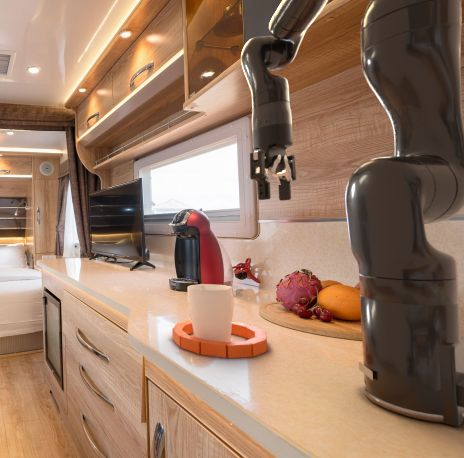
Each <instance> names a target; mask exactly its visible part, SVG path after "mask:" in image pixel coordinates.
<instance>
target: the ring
mask: <svg viewBox="0 0 464 458" xmlns="http://www.w3.org/2000/svg"><path fill="white" fill-rule="evenodd" d="M171 332H172V341H173V342H174V343H175V344H176V345H177V346H178V347H179V348H181V349H184V350H185V351H188V352H191V353H195V354H197V355H201V356H209V357H217V358H223V359H227V358H228V359H240V358H252V357H253V358H254V357H257V356H259V355H261V354H264V353H267V351H268V341H267V339H268V338H267V332H266V331H264V330H262V329H260V328H258V327H256V326H254V325H251V324H248V323H247V324H246V323H243V322H238V321H235V320H234V321H233V320H232V328H231V335H235V336H239V337H242V338H246V340H240V341H238V340H237V341H230V342H220V341H211V340H203V339H200V338H196V337H194V335H190V334H194V332H193V327H192V322H191V319H189V320H184V321H181V322H178V323H175V325H174V326H173V328H172V330H171Z"/></svg>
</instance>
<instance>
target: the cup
mask: <svg viewBox="0 0 464 458" xmlns="http://www.w3.org/2000/svg"><path fill="white" fill-rule="evenodd" d="M186 291H187V294H186V296H187V298H186V300H187V307H188V312H189V317H190V320H191V322H192V327H193V332H194V333H193V337H196V338H200V339H203V340H211V341H220V342H231V338H232V334H231V328H232V321H233V317H234V305H235V301H234V295H233V293H234V292H233V287H232V286H230V285H225V284H215V283H200V284H199V283H198V284H191V285H188V286H187V289H186Z"/></svg>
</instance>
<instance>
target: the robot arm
mask: <svg viewBox="0 0 464 458" xmlns="http://www.w3.org/2000/svg"><path fill="white" fill-rule="evenodd" d="M328 2H329V0H281V2H280V4H279V5H278V7H277V8H276V11H275V12H274V13H273V15H272V17H271V19H269V20H270V21H269V23H268V29H269V33H270V35H261V36H254V37H252V38H250V39H249V40H248V41H247V42H246V43H245V44H244V46H243V48H242V50H241V54H240V64H241V68H242V71H243V74H244V76H245V78H246V81H247V84H248V87H249V90H250V93H251V107H252V113H251V114H252V115H251V133H252V150H253V151H250V153H249V178H250V180H254V182H255V183H256V184H257V195H258V196H257V197H258V198H257V199H258V200H259V201H266V200H267V201H268V200H270V199H271V198H272V197H271V195H272V194H271V182H270V180H271V177H272V176H273V178H275V179H276V181H277V183H278V200H279V201H281V202H282V201H283V202H284V201H291V199H292V189H291V187H292V186H291V184H292V183H293V182H294V181H295V182H296V180H297V171H296V159H295V154H287V148H291V146H293V144H294V136H293V135H294V134H293V116H292V115H293V113H292V109H291V105H290V104H291V103H290V87H289V86H290V85H289V81H288V79H287V78H286V77H284V76H281V75H277V74H273V73H271V71H280V70H283V69H285V68H287V67H288V66H289V65H291V63H292V62H293V61H294V60H295V59H296V56H297V54H298V51H299V48H300V46H301V44H302V41H303V39H304V36H305V34H306V32H307V30H308V29H309V28H310V26H311V25H312V24H313V23H314V21H315V20H316V18H318V16H319V15H320V14H321V12H322V11H323V9H325V7H326V5H327V4H328ZM461 41H462V0H370V1H369V3H368V4H367V6H366V9H365V10H364V12H363V15H362V18H361V23H360V63H361V70H362V73H363V75H364V78H365V80H366V83H367V84H368V86H369V88H370V89H371V91H372V92H373V94H374V95H375V97H376V98H377V100H378V101H379V103H380V105H381V106H382V108H383V110H384V111H385V113H386V114H387V116H388V118H389V121H390V124H391V127H392V133H393V137H394V138H393V141H394V155H393V156H379V157H376V158H371V159H369V160H366V161H364V162H363V163H361V164H360V165H359V166H356V168H355V169H354V170H353V171H352V173H351V174H350V176H349V178H348V179H347V182H346V183H347V184H346V188H345V195H344V197H345V199H344V200H345V213H346V221H347V229H348V238H349V246H350V250H351V253H352V255H353V257H354V259H355V260H356V263H357V265H358V281H359V285H358V286H359V302H360V318H361V319H360V322H361V324H360V325H361V338H362V339H361V341H362V360H363V363H362V362H360V361H358V370H359V371H360V372H362V373H363V383H364V384H363V394H364V395H365V397H366V398H367V399H368V400H370V401H371V402H373V403H374V404H376V405H378V406H380V407H382V408H384V409H386V410H388V411H391V412H393V413H397V414H400V415H403V416H406V417H408V418H409V417H410V418H414V419H418V420H423V421H428V422H435V423H441V424H445V425H450V426H453V427H457V428H458V427H460V426H461V425H462V423H463V422H464V336H463V335H462V334H461V332H462V331H461V330H462V329H461V314H460V295H459V279H458V277H459V274H458V262H457V259H456V258H455V257H454V256H453V255H452V254H450V253H448V252H445V251H443V250H441V249H439V248H436V247H435V246H434V245H433V244H431V242H430V240H428V238H427V233H426V226H425V225H429V224H430V225H431V224H437V223H441V222H445V221H448V220H450V219H451V218H453V217H455V216H456V215H458V213H460V212H461V211H462V210H463V208H464V120H463V110H462V72H461V44H462V43H461Z"/></svg>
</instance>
